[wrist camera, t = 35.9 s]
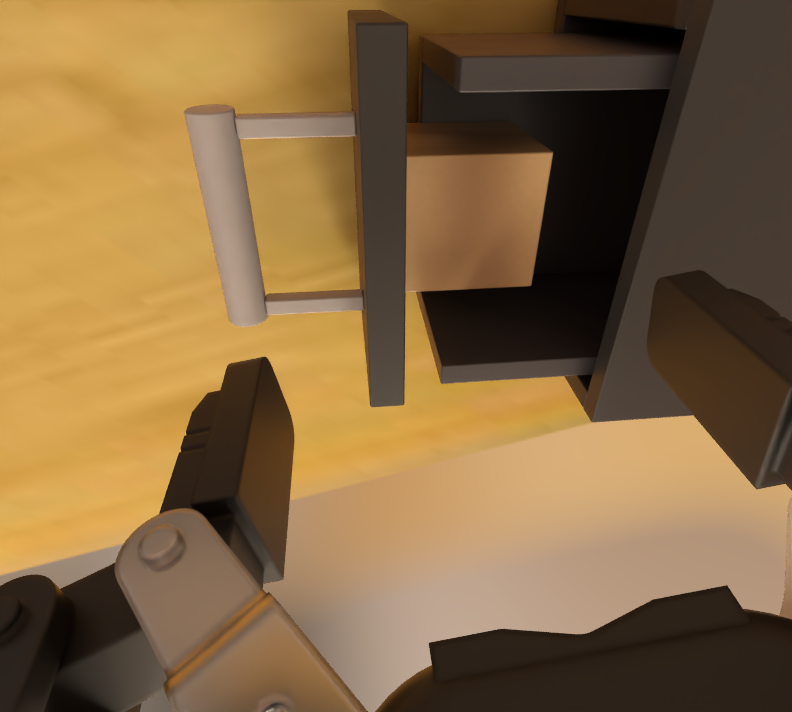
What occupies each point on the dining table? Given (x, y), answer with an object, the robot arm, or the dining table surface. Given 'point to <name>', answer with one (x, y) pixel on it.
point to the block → (473, 205)
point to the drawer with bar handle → (387, 177)
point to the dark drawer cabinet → (699, 180)
